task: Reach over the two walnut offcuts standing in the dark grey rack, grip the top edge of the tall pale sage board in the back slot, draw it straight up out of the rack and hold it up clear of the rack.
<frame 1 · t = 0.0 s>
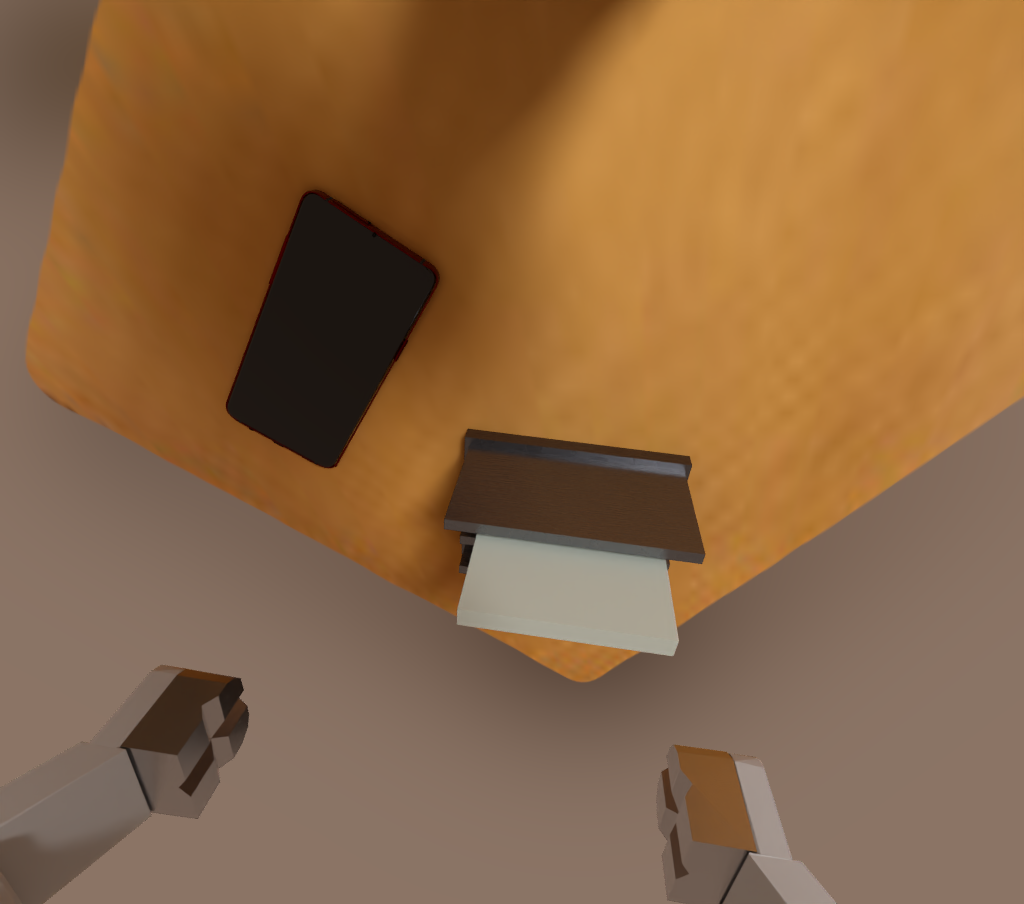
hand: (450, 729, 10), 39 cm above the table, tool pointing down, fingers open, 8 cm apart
sheet: (572, 478, 53), point 1 cm above the table, touching rack
rack: (567, 504, 56), on the table
smartphone: (326, 345, 51), on the table
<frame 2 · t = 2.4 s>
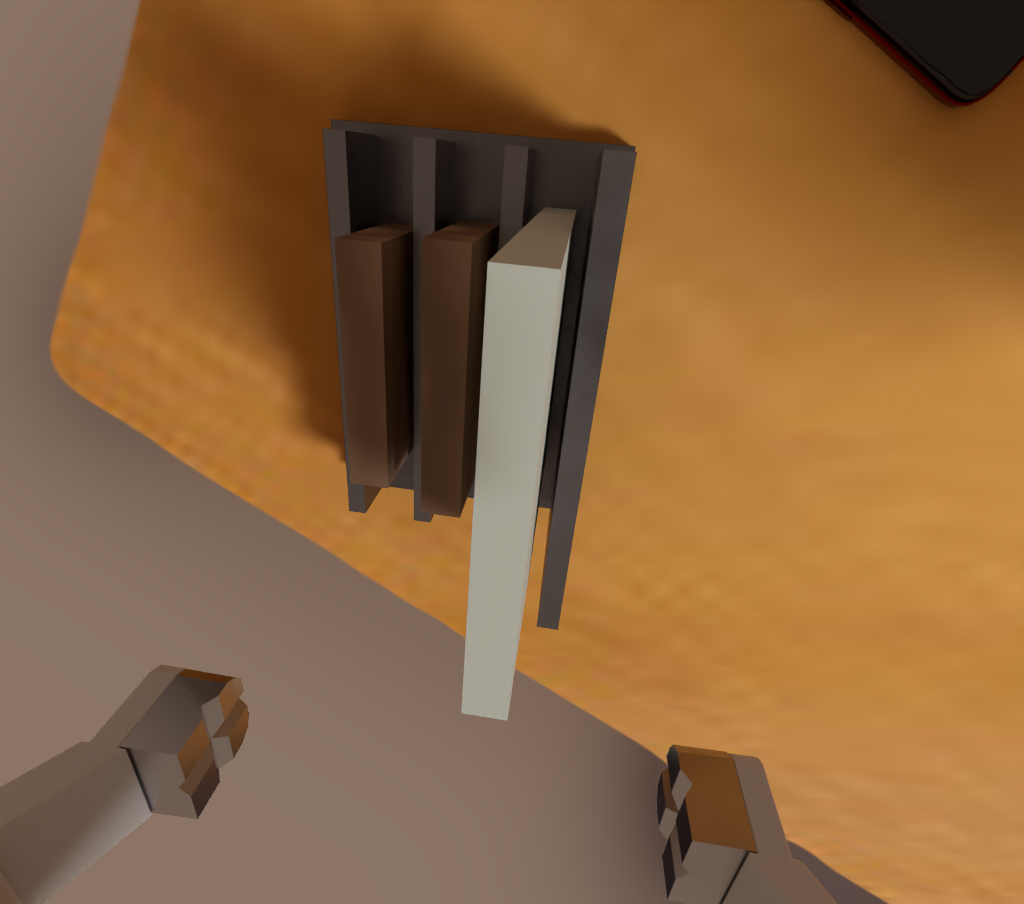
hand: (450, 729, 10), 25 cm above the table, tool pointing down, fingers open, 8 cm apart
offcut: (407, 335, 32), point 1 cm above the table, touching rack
sheet: (544, 351, 31), point 1 cm above the table, touching rack
rack: (475, 335, 33), on the table
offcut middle: (475, 343, 32), point 1 cm above the table, touching rack
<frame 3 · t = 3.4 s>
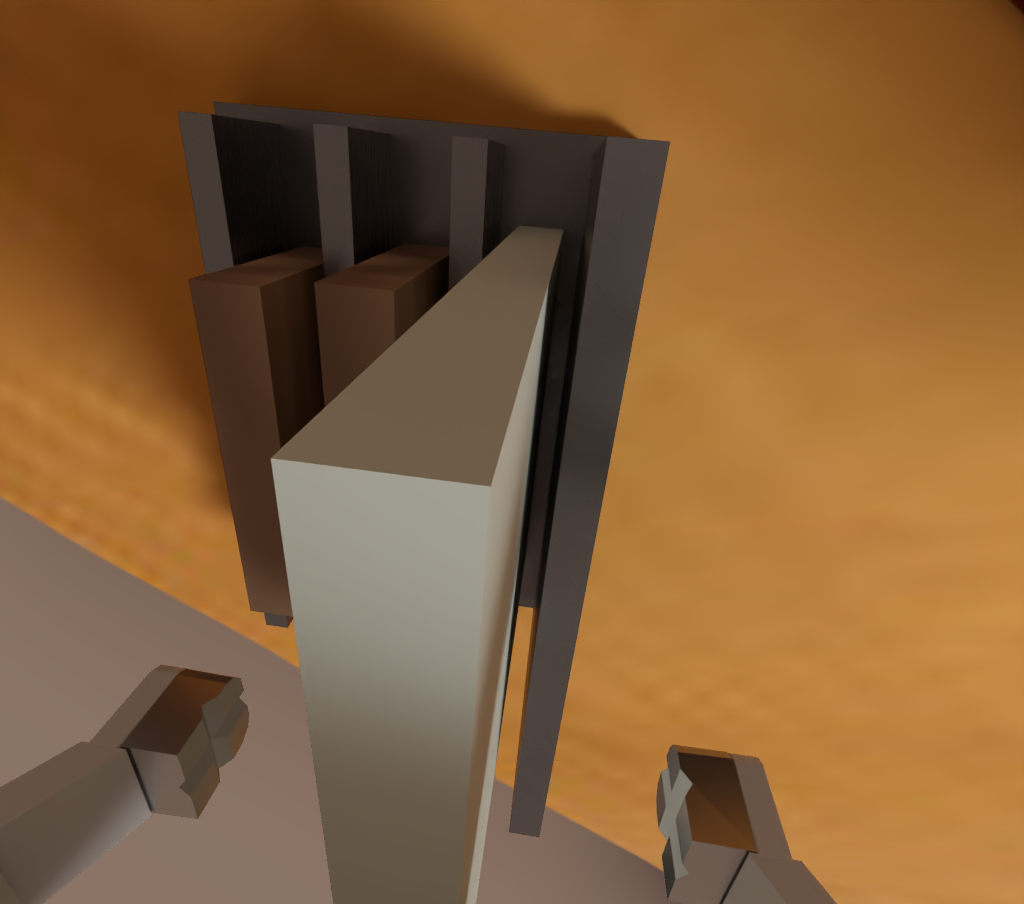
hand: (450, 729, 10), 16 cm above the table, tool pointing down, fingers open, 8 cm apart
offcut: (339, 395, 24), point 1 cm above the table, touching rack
sheet: (522, 417, 23), point 1 cm above the table, touching rack
rack: (431, 392, 25), on the table
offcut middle: (430, 406, 24), point 1 cm above the table, touching rack
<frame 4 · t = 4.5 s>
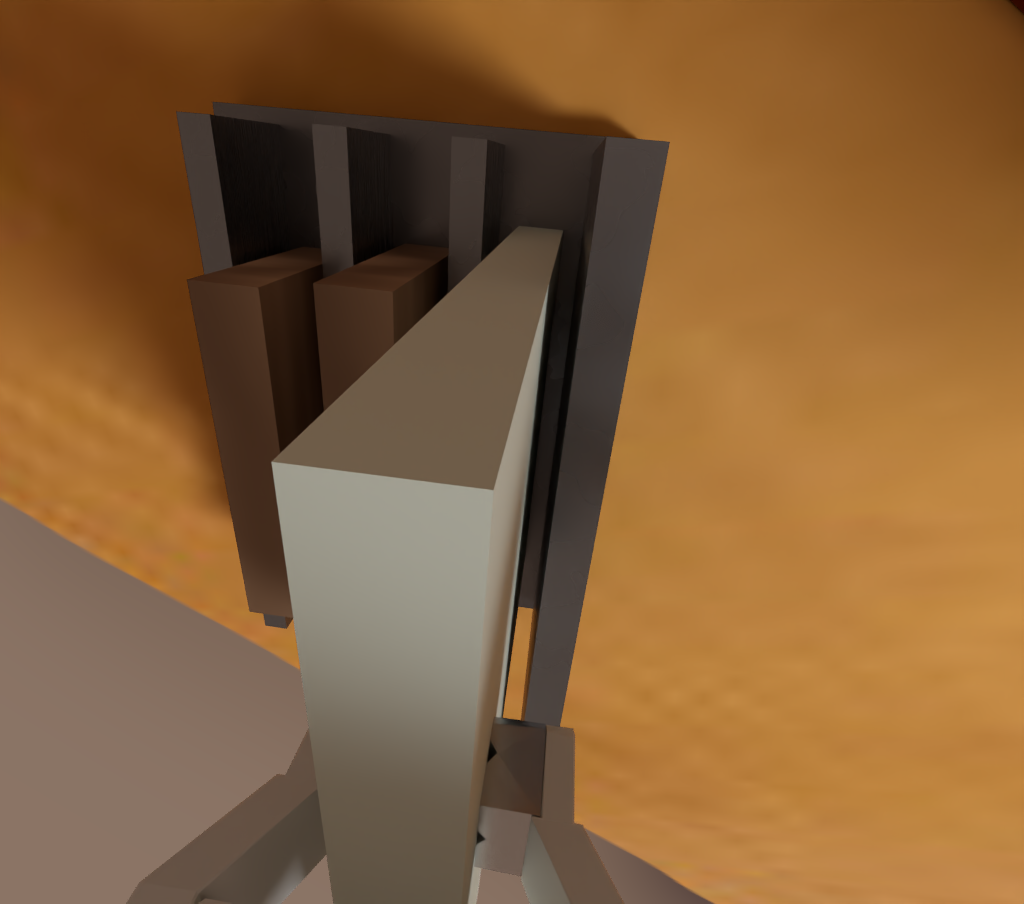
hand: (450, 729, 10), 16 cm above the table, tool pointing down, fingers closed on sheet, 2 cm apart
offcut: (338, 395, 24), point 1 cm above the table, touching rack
sheet: (522, 417, 23), point 2 cm above the table, touching gripper, rack
rack: (431, 393, 25), on the table
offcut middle: (429, 406, 23), point 1 cm above the table, touching rack
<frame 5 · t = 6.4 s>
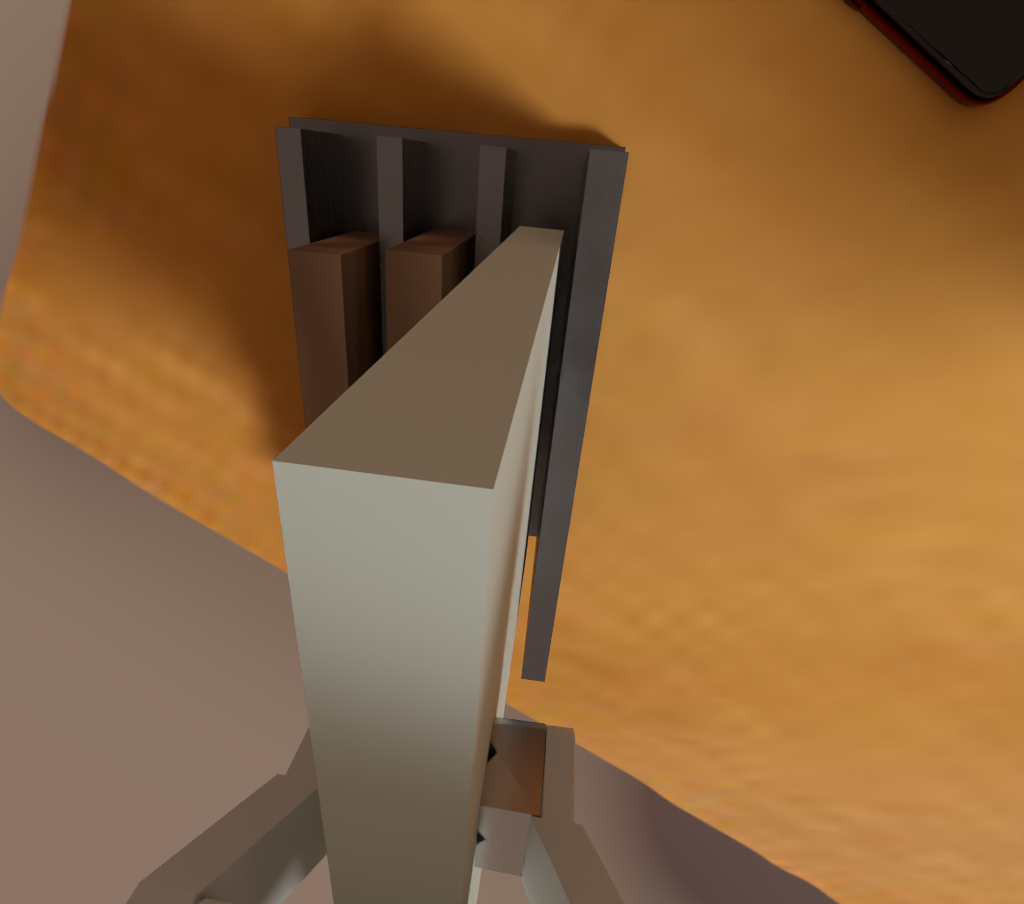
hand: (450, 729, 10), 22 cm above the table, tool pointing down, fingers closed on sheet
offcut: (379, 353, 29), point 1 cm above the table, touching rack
sheet: (523, 417, 23), point 8 cm above the table, touching gripper
rack: (453, 352, 30), on the table
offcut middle: (453, 361, 29), point 1 cm above the table, touching rack
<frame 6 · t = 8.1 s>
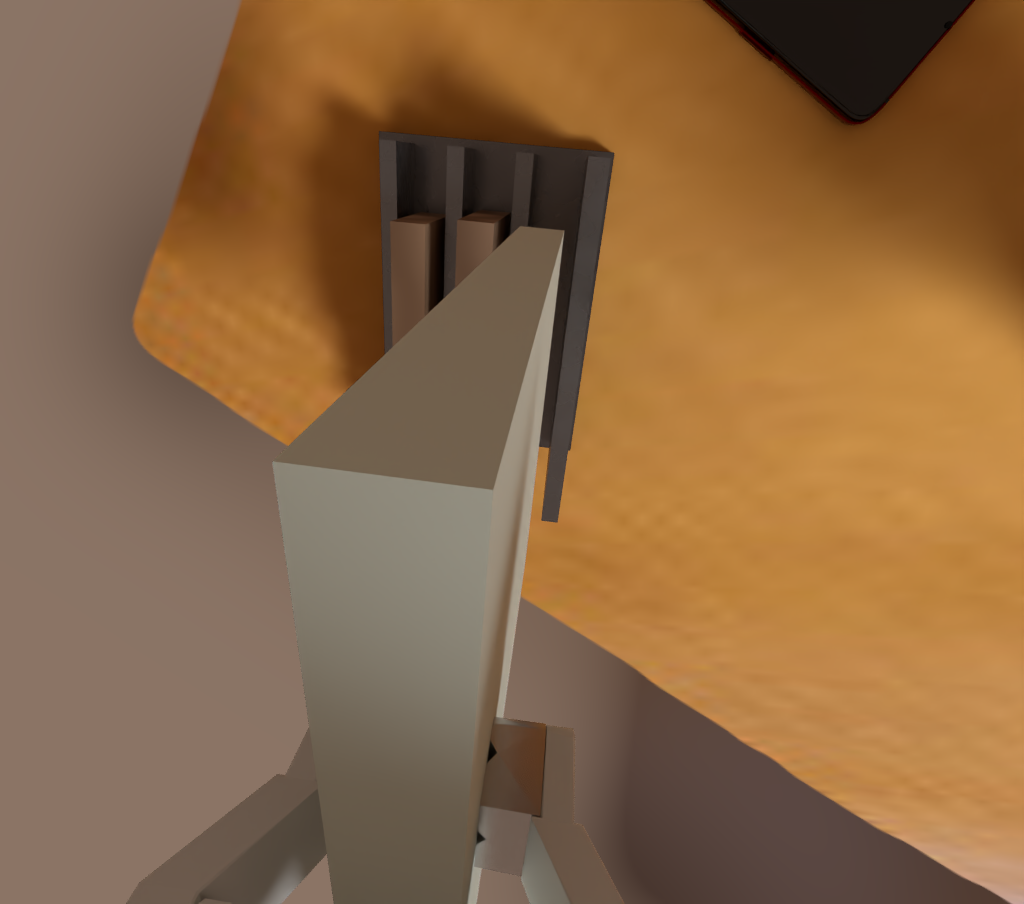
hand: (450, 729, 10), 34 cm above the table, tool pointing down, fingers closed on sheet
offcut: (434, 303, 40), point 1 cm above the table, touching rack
sheet: (523, 418, 23), point 20 cm above the table, touching gripper
rack: (488, 304, 41), on the table
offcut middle: (489, 309, 40), point 1 cm above the table, touching rack
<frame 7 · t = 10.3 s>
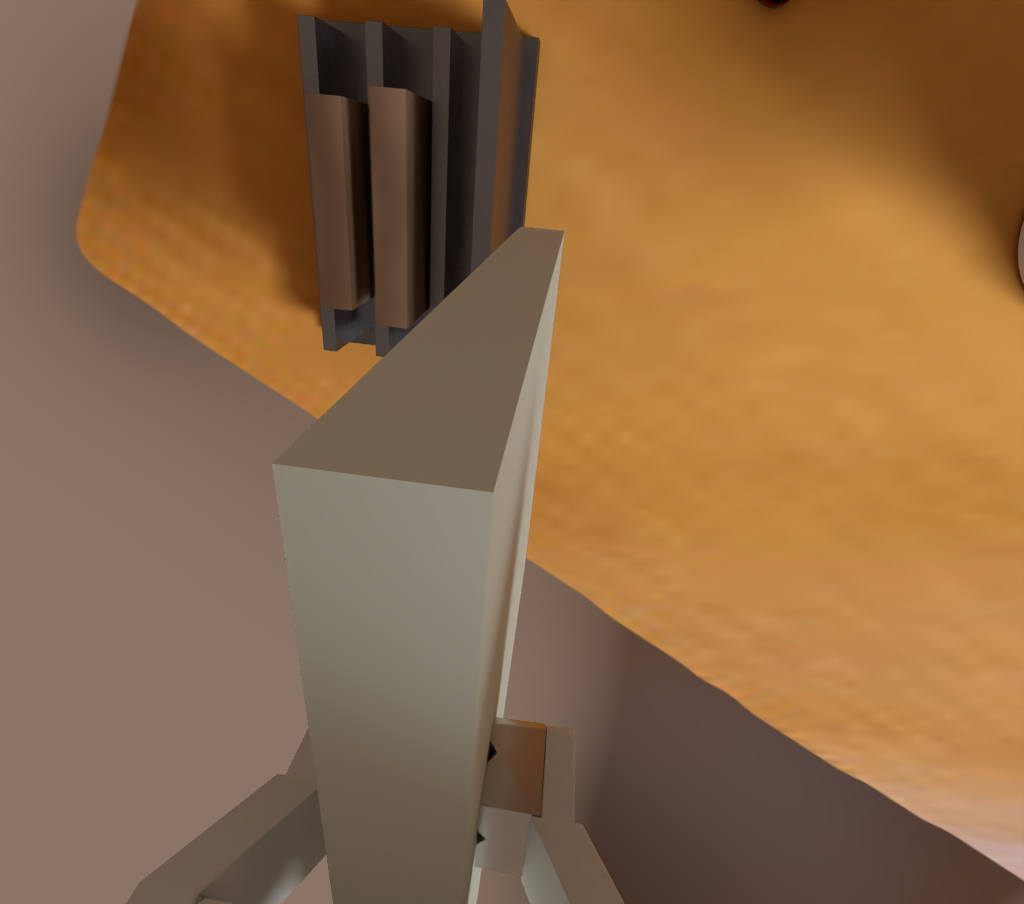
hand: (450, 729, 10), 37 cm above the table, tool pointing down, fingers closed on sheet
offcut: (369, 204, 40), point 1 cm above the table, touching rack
sheet: (523, 418, 23), point 22 cm above the table, touching gripper
rack: (425, 207, 41), on the table
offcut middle: (423, 209, 40), point 1 cm above the table, touching rack
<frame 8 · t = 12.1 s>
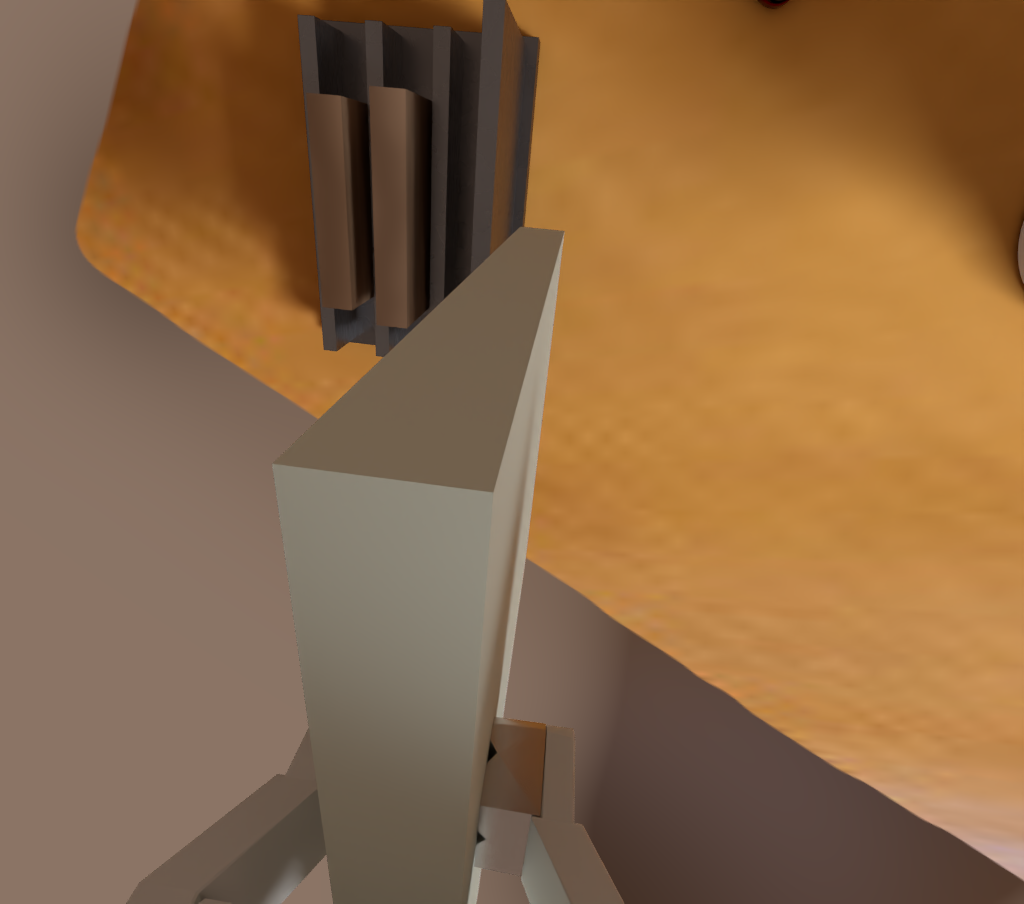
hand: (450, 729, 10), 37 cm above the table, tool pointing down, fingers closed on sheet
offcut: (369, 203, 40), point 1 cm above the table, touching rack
sheet: (523, 418, 23), point 22 cm above the table, touching gripper
rack: (425, 207, 41), on the table
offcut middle: (423, 209, 40), point 1 cm above the table, touching rack
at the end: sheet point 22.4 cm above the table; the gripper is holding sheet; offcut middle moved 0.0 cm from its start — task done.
